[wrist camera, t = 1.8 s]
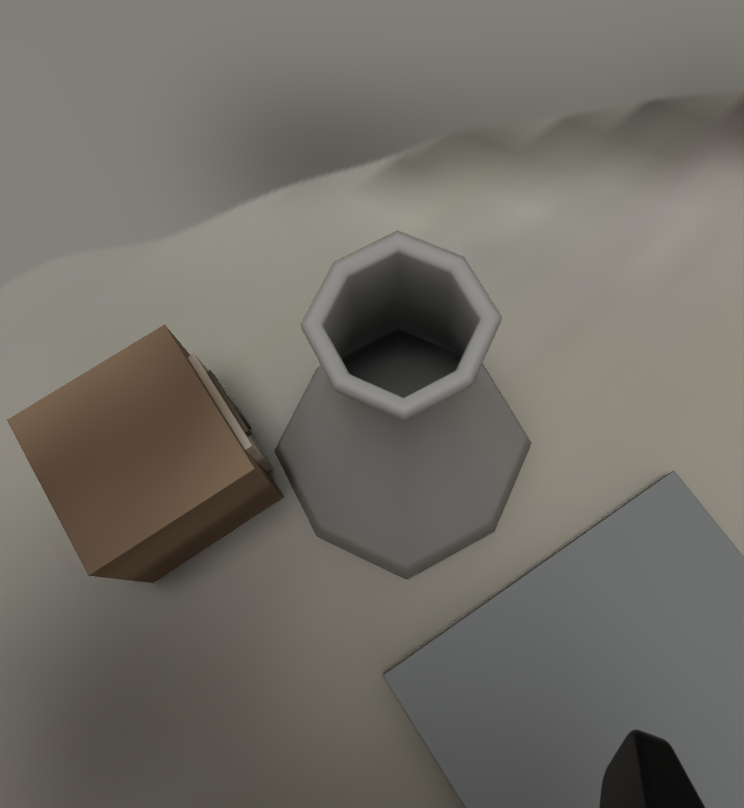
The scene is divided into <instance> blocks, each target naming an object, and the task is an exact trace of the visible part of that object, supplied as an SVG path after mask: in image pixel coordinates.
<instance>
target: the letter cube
mask: <svg viewBox="0 0 744 808" xmlns="http://www.w3.org/2000/svg"><path fill="white" fill-rule="evenodd" d="M7 421H8V423H9V425H10V427H11V429H12V431H13V433H14V434H15V436H16V438H17V440H18V442H19V444H20V446H21V448H22V450H23V452H24V453H25V455H26V457H27V459H28V461H29V463H30V465H31V467H32V469H33V471H34V472H35V474H36V476H37V478H38V480H39V482H40V484H41V486H42V488H43V490H44V492H45V493H46V495H47V497H48V499H49V501H50V503H51V505H52V507H53V509H54V511H55V512H56V514H57V516H58V518H59V520H60V522H61V524H62V526H63V528H64V530H65V531H66V533H67V535H68V537H69V539H70V541H71V543H72V545H73V547H74V549H75V550H76V552H77V554H78V556H79V558H80V560H81V562H82V564H83V566H84V568H85V570H86V571H87V573H88V575H89V576H97V577H106V578H115V579H124V580H132V581H141V582H150V583H153V582H155V581H156V580H158V579H159V578H161V577H162V576H164V575H166V574H167V573H169V572H170V571H172V570H173V569H175V568H176V567H178V566H179V565H181V564H182V563H184V562H185V561H187V560H188V559H190V558H192V557H193V556H195V555H196V554H198V553H199V552H201V551H202V550H204V549H205V548H207V547H208V546H210V545H211V544H213V543H214V542H216V541H218V540H219V539H221V538H222V537H224V536H225V535H227V534H228V533H230V532H231V531H233V530H234V529H236V528H237V527H239V526H240V525H242V524H244V523H245V522H247V521H248V520H250V519H251V518H253V517H254V516H256V515H257V514H259V513H260V512H262V511H263V510H265V509H266V508H268V507H269V506H271V505H273V504H274V503H276V502H277V501H279V500H280V499H282V498H283V497H284V496H283V494H282V493H281V491H280V490H279V488H278V487H277V485H276V483H275V482H274V480H273V479H272V477H271V475H270V474H269V472H268V471H270V470H271V469H273V468H272V466H271V465H270V463H269V462H268V460H267V458H266V457H265V455H264V454H263V452H262V450H261V449H260V447H259V446H258V444H257V442H256V441H255V439H254V438H253V436H252V434H251V432H250V431H249V430H250V429H251V427H250V425H249V424H248V422H247V421H246V419H245V417H244V416H243V415H242V413H241V412H240V411H239V410H238V409H237V407H236V406H235V405H234V404H233V402H232V401H231V400H230V399H229V397H228V396H227V394H226V393H225V391H224V390H223V388H222V386H221V385H220V383H219V382H218V380H217V378H216V377H215V375H214V374H213V373H212V372H211V370H210V371H208V370H207V369H206V367H205V366H204V365H203V364H202V362H201V361H200V360H199V359H198V358H197V356H196V355H195V354H192V355H190V354H189V353H188V352H187V351H186V349H185V348H184V347H183V346H182V345H181V343H180V342H179V341H178V340H177V339H176V337H175V336H174V335H173V334H172V333H171V331H170V330H169V329H168V328H167V327H166V325H163V326H161V327H160V328H158V329H157V330H155V331H153V332H152V333H150V334H148V335H147V336H145V337H143V338H142V339H140V340H138V341H137V342H135V343H133V344H132V345H130V346H128V347H127V348H125V349H124V350H122V351H120V352H119V353H117V354H115V355H114V356H112V357H110V358H109V359H107V360H105V361H104V362H102V363H100V364H99V365H97V366H95V367H94V368H92V369H90V370H89V371H87V372H86V373H84V374H82V375H81V376H79V377H77V378H76V379H74V380H72V381H71V382H69V383H67V384H66V385H64V386H62V387H61V388H59V389H57V390H56V391H54V392H53V393H51V394H49V395H48V396H46V397H44V398H43V399H41V400H39V401H38V402H36V403H34V404H33V405H31V406H29V407H28V408H26V409H24V410H23V411H21V412H20V413H18V414H16V415H15V416H13V417H11V418H10V419H8V420H7Z"/></svg>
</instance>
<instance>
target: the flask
mask: <svg viewBox="0 0 744 808" xmlns="http://www.w3.org/2000/svg"><path fill="white" fill-rule="evenodd" d="M501 318H502V316H501V314H500V313H499V311H498V310H497V308H496V306H495V305H494V303H493V302H492V300H491V299H490V297H489V295H488V294H487V292H486V291H485V289H484V288H483V286H482V284H481V283H480V281H479V280H478V278H477V276H476V275H475V273H474V272H473V270H472V269H471V267H470V265H469V264H468V262H467V261H466V259H465V258H464V257H463V256H460V255H458V254H455V253H453V252H450V251H448V250H445V249H443V248H440V247H438V246H435V245H433V244H430V243H428V242H425V241H423V240H420V239H418V238H415V237H413V236H410V235H408V234H405V233H403V232H400V231H396V232H394V233H392V234H390V235H388V236H386V237H384V238H381V239H379V240H377V241H375V242H373V243H371V244H369V245H367V246H365V247H363V248H361V249H359V250H357V251H355V252H353V253H351V254H349V255H347V256H345V257H343V258H341V259H339V260H337V261H335V262H333V264H332V266H331V268H330V270H329V272H328V274H327V276H326V277H325V279H324V281H323V283H322V285H321V287H320V289H319V291H318V292H317V294H316V296H315V298H314V300H313V302H312V304H311V306H310V307H309V309H308V311H307V313H306V315H305V317H304V319H303V321H302V323H301V327H302V330H303V332H304V334H305V336H306V338H307V339H308V341H309V343H310V345H311V347H312V349H313V351H314V352H315V354H316V356H317V358H318V360H319V362H320V364H321V365H320V366H319V367H318V368H317V369H316V371H315V373H314V375H313V377H312V379H311V381H310V383H309V385H308V387H307V389H306V391H305V393H304V395H303V396H302V398H301V400H300V402H299V404H298V406H297V408H296V410H295V412H294V414H293V416H292V418H291V420H290V422H289V424H288V425H287V427H286V429H285V431H284V433H283V435H282V437H281V439H280V441H279V443H278V445H277V447H276V449H275V453H276V455H277V457H278V459H279V461H280V463H281V465H282V467H283V469H284V471H285V473H286V475H287V477H288V479H289V481H290V483H291V485H292V487H293V489H294V491H295V493H296V495H297V497H298V499H299V501H300V503H301V505H302V507H303V509H304V511H305V513H306V515H307V517H308V519H309V521H310V523H311V525H312V527H313V529H314V531H315V533H316V535H317V536H318V537H320V538H323V539H325V540H327V541H329V542H331V543H333V544H335V545H337V546H339V547H341V548H343V549H345V550H348V551H350V552H352V553H354V554H356V555H358V556H360V557H362V558H364V559H366V560H368V561H370V562H372V563H375V564H377V565H379V566H381V567H383V568H385V569H387V570H389V571H391V572H393V573H395V574H397V575H399V576H402V577H404V578H406V579H408V578H409V577H411V576H413V575H415V574H417V573H418V572H420V571H422V570H424V569H426V568H428V567H429V566H431V565H433V564H435V563H437V562H439V561H440V560H442V559H444V558H446V557H448V556H449V555H451V554H453V553H455V552H457V551H459V550H460V549H462V548H464V547H466V546H468V545H470V544H471V543H473V542H475V541H477V540H479V539H480V538H482V537H484V536H486V535H488V534H490V533H491V532H493V531H494V530H495V528H496V525H497V523H498V521H499V518H500V516H501V514H502V511H503V509H504V506H505V504H506V502H507V499H508V497H509V495H510V492H511V490H512V488H513V485H514V483H515V480H516V478H517V476H518V473H519V471H520V469H521V466H522V464H523V462H524V459H525V457H526V454H527V452H528V450H529V447H530V445H531V441H530V440H529V438H528V436H527V435H526V433H525V432H524V430H523V428H522V427H521V425H520V423H519V422H518V420H517V419H516V417H515V415H514V414H513V412H512V410H511V409H510V407H509V405H508V404H507V402H506V401H505V399H504V397H503V396H502V394H501V392H500V391H499V389H498V387H497V386H496V384H495V383H494V381H493V379H492V378H491V376H490V374H489V373H488V371H487V370H486V368H485V366H484V365H483V363H482V362H483V360H484V358H485V355H486V353H487V351H488V349H489V347H490V344H491V342H492V340H493V338H494V336H495V333H496V331H497V329H498V327H499V325H500V322H501Z"/></svg>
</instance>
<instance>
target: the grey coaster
mask: <svg viewBox="0 0 744 808" xmlns="http://www.w3.org/2000/svg"><path fill="white" fill-rule="evenodd" d="M383 676H384V677H385V679H386V681H387V682H388V684H389V685H390V687H391V689H392V690H393V692H394V693H395V695H396V697H397V698H398V700H399V701H400V703H401V705H402V706H403V708H404V710H405V711H406V713H407V714H408V716H409V718H410V719H411V721H412V722H413V724H414V726H415V727H416V729H417V730H418V732H419V734H420V735H421V737H422V738H423V740H424V742H425V743H426V745H427V747H428V748H429V750H430V751H431V753H432V755H433V756H434V758H435V759H436V761H437V763H438V764H439V766H440V767H441V769H442V771H443V772H444V774H445V775H446V777H447V779H448V780H449V782H450V783H451V785H452V787H453V788H454V790H455V792H456V793H457V795H458V796H459V798H460V800H461V801H462V803H463V804H464V806H465V808H599V805H600V796H601V787H602V781H603V777H604V773H605V771H606V768H607V766H608V765H609V763H610V761H611V760H612V758H613V757H614V755H615V753H616V752H617V750H618V749H619V747H620V745H621V744H622V742H623V741H624V739H625V737H626V736H627V735H628V733H629V732H630V731H632V730H635V729H637V730H641V731H644V732H647V733H649V734H652V735H655V736H658V737H660V738H663V739H665V740H666V741H667V742H668V743H669V744H670V745H671V746H672V748H673V749H674V751H675V753H676V755H677V757H678V758H679V760H680V762H681V764H682V766H683V768H684V769H685V771H686V773H687V775H688V777H689V779H690V780H691V782H692V784H693V786H694V788H695V789H696V791H697V793H698V795H699V797H700V799H701V800H702V802H703V804H704V806H705V808H744V557H743V555H742V554H741V553H740V552H739V550H738V549H737V548H736V547H735V545H734V544H733V543H732V542H731V540H730V539H729V538H728V537H727V535H726V534H725V533H724V532H723V530H722V529H721V528H720V527H719V526H718V524H717V523H716V522H715V521H714V519H713V518H712V517H711V516H710V514H709V513H708V512H707V511H706V509H705V508H704V507H703V506H702V504H701V503H700V502H699V501H698V499H697V498H696V497H695V496H694V495H693V493H692V492H691V491H690V490H689V488H688V487H687V486H686V485H685V483H684V482H683V481H682V480H681V478H680V477H679V476H678V475H677V473H676V472H675V471H673V472H671V473H669V474H667V475H666V476H664V477H663V478H661V479H660V480H658V481H657V482H656V483H654V484H653V485H651V486H650V487H648V488H647V489H646V490H644V491H643V492H641V493H640V494H639V495H637V496H636V497H634V498H633V499H631V500H630V501H629V502H627V503H626V504H624V505H623V506H621V507H620V508H619V509H617V510H616V511H614V512H613V513H612V514H610V515H609V516H607V517H606V518H604V519H603V520H602V521H600V522H599V523H597V524H596V525H594V526H593V527H592V528H590V529H589V530H587V531H586V532H584V533H583V534H582V535H580V536H579V537H577V538H576V539H575V540H573V541H572V542H570V543H569V544H567V545H566V546H565V547H563V548H562V549H560V550H559V551H557V552H556V553H555V554H553V555H552V556H550V557H549V558H548V559H546V560H545V561H543V562H542V563H540V564H539V565H538V566H536V567H535V568H533V569H532V570H530V571H529V572H528V573H526V574H525V575H523V576H522V577H521V578H519V579H518V580H516V581H515V582H513V583H512V584H511V585H509V586H508V587H506V588H505V589H503V590H502V591H501V592H499V593H498V594H496V595H495V596H494V597H492V598H491V599H489V600H488V601H486V602H485V603H484V604H482V605H481V606H479V607H478V608H476V609H475V610H474V611H472V612H471V613H469V614H468V615H467V616H465V617H464V618H462V619H461V620H459V621H458V622H457V623H455V624H454V625H452V626H451V627H449V628H448V629H447V630H445V631H444V632H442V633H441V634H440V635H438V636H437V637H435V638H434V639H432V640H431V641H430V642H428V643H427V644H425V645H424V646H422V647H421V648H420V649H418V650H417V651H415V652H414V653H412V654H411V655H410V656H408V657H407V658H405V659H404V660H403V661H401V662H400V663H398V664H397V665H395V666H394V667H393V668H391V669H390V670H388V671H387V672H385V673H384V675H383Z"/></svg>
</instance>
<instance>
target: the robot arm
mask: <svg viewBox="0 0 744 808" xmlns="http://www.w3.org/2000/svg"><path fill="white" fill-rule="evenodd" d="M599 808H705V806H704V804H703V802H702V800H701V799H700V797H699V795H698V793H697V791H696V789H695V788H694V786H693V784H692V782H691V780H690V779H689V777H688V775H687V773H686V771H685V769H684V768H683V766H682V764H681V762H680V760H679V758H678V757H677V755H676V753H675V751H674V749H673V748H672V746H671V745H670V744H669V743H668V742H667V741H666V740H665V739H663V738H660V737H658V736H655V735H652V734H649V733H647V732H644V731H641V730H637V729H635V730H632V731H630V732H629V733H628V735H627V736H626V737H625V739H624V741H623V742H622V744H621V745H620V747H619V749H618V750H617V752H616V753H615V755H614V757H613V758H612V760H611V761H610V763H609V765H608V766H607V768H606V771H605V773H604V777H603V781H602V787H601V796H600V805H599Z"/></svg>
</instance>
